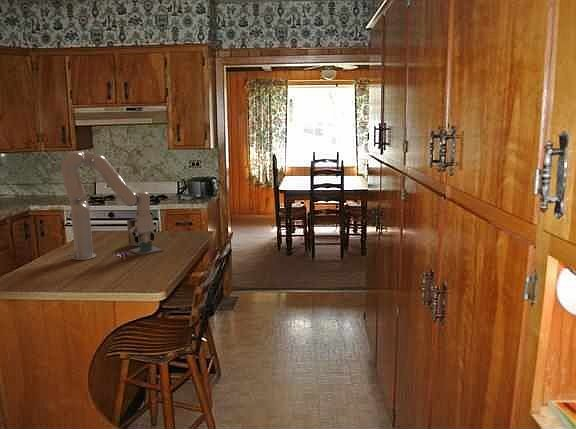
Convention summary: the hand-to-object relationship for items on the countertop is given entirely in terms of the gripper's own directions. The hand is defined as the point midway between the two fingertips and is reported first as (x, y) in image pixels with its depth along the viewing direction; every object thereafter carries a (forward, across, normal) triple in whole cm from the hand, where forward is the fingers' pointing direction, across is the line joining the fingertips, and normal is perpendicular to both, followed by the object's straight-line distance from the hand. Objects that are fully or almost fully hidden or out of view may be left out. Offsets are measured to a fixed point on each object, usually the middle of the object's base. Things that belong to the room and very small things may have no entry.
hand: (144, 241), depth 292 cm
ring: (+5, +1, 0) cm, 5 cm away
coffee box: (+6, +5, +20) cm, 21 cm away
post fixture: (+6, +1, 0) cm, 6 cm away
